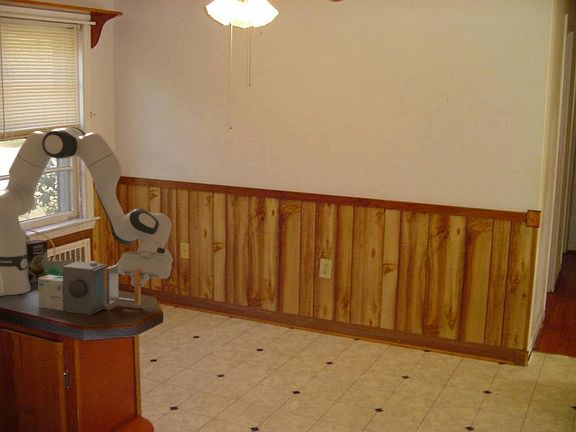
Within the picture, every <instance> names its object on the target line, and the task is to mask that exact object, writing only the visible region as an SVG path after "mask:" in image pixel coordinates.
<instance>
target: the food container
mask: <svg viewBox="0 0 576 432" xmlns="http://www.w3.org/2000/svg"><path fill="white" fill-rule="evenodd" d="M71 263H74V260H73V258H70V259H67V260H63V259H54V260H53V259H52V260H47V261H45V260H43V259H42V262H41V265H43V269H44V276H47V275H55V276H63V266H66V265H68V264H71Z"/></svg>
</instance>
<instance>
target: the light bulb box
mask: <svg viewBox="0 0 576 432" xmlns="http://www.w3.org/2000/svg"><path fill="white" fill-rule="evenodd" d="M37 284H38V285H37V286H38V287H37V288H38V289H37V291H38V307H39V308H43V309H50V310H56V311H63V276H55V275H47V276H44V277H40V278H38V282H37ZM63 312H64V311H63Z"/></svg>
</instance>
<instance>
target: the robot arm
mask: <svg viewBox="0 0 576 432" xmlns="http://www.w3.org/2000/svg"><path fill="white" fill-rule="evenodd" d="M75 156H76V157H79V158H80V159H81V161H82V162H83V163H84V165H85V167H86V168H87V170H88V172H89V174H90V175H91V178H92V180H93V183H94V189H95V193H96V195H97V198H98V200H99V203H100V204H101V208H102V209H103V211H104V213H105V215H106V217H107V219H108V222H109V227H110V232H111V234H112V237H113V239H114V240H115V242H117V243H119V244H121V245H124V246H130V245H131V244H133V243H134V242H135V241H136V240H138V239H140V243H139V246H138V248H137V251H130V250H127V251H125V252H123V253H122V254H121V256H120V258H119V260H118V261H117V263H116V265H118V275H124V276H130V277H131V280H130V286H133V287H134V270H135V269H141V277H143V278H141V280H139V283H138V285H139V286H141V288H143V287H144V286H145V284H146V283H147V282H148V281H149V280H150V279H151V278H153V279H161V280H163V279H164V280H166V279H168V278H169V277H170V276H171V271H172V266H173V265H172V263H174V262H173V261H174V259H173V256H172V254H171V252H170V250H168V249H167V248H165V245H166V243H168V240H169V238H170V234H171V232H172V220H171V219H170V218H169V217H168V216H167V215H166V214H164V213H161V212H156V213H155V212H149V211H147V210H146V209H143V208H135V209H133V210H131V211H130V212H128V213H127V214H125V213H124V211H123V208H122V206H121V205H120V202H119V200H118V197H117V194H116V189H117V185H118V183H119V180H120V178H121V175H122V166H121V164H120V161H119V159H118V157H117V155H116V153H114V151H113V149H112V147H111V146H110V145H109V143H108V142H107V141H106V139H104V137H103V136H102V135H101V134H100V133H98V132H88V133H85V132H84V130H82V129H80V128H77V127H75V126H73V127H72V126H71V127H68V126H67V127H60V128H54V129H51V130H49V131H48V132H47V133H46V132H43V131H38V130H37V131H33V132H31V133H30V134H29V135H28V136H27V138H26V139H25V141H24V142H23V144H22V145H21V147H20V148H19V150H18V152H17V153H16V155H15V157H14V160H13V161H12V164H11V166H10V167H9V170H8V174H9V178H8V182H7V186H6V187H5V188H4V189H2V190H0V297H1V296H2V297H3V296H11V295H13V296H15V295H19V294H25V293H28V292H30V291H31V290H32V287H31V283H29V279H28V274H27V253H26V235H25V232H24V231H25V230H24V229H22V227H21V224H20V220H19V217H21V216H24V215H26V214H28V212H30V211H31V210H32V209H33V207H34V205H35V193H36V190H37V186H38V183H39V181H40V179H41V178H42V175H43V173H44V172H45V170H46V167H47V165H48V164H49V161H50V160H51V158H53V159H57V160H58V159H59V160H60V159H69V158H72V157H75Z"/></svg>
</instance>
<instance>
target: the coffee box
mask: <svg viewBox="0 0 576 432" xmlns="http://www.w3.org/2000/svg"><path fill="white" fill-rule="evenodd" d="M26 253H27V274H28V279H29V283H30V284H32V283H38V278H40V277H44V269H43V265H41V262H42V259H43V260H45V261H48V241H47V240H42V239H41V240H40V239H34V240H31V241H26Z"/></svg>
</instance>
